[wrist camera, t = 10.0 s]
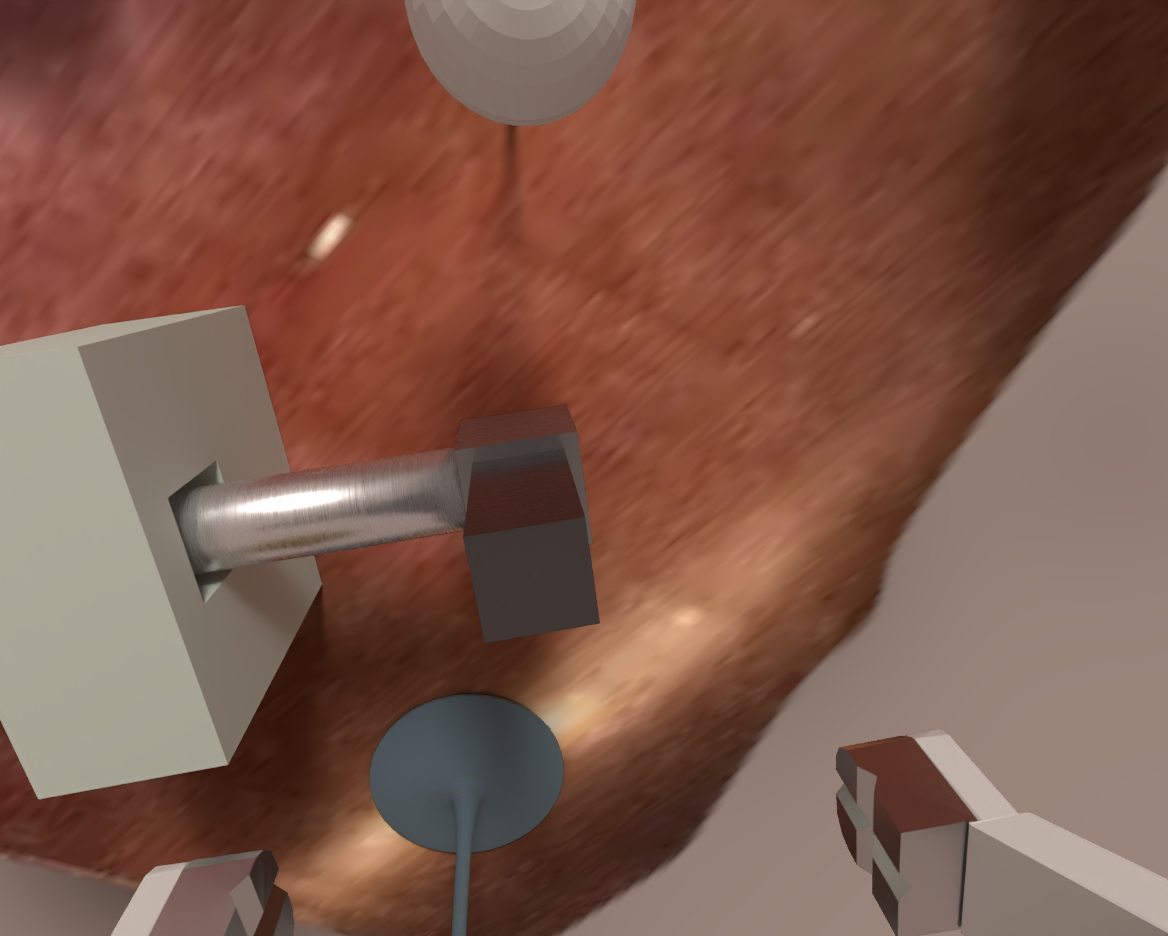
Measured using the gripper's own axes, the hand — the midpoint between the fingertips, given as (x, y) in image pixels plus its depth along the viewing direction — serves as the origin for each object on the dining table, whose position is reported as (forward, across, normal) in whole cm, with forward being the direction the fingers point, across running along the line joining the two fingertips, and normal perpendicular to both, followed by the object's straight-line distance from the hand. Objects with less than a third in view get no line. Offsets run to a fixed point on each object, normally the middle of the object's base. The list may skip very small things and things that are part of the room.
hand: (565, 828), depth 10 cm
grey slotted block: (+25, +14, 0) cm, 29 cm away
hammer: (+18, +11, 0) cm, 21 cm away
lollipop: (+25, -2, -14) cm, 29 cm away
